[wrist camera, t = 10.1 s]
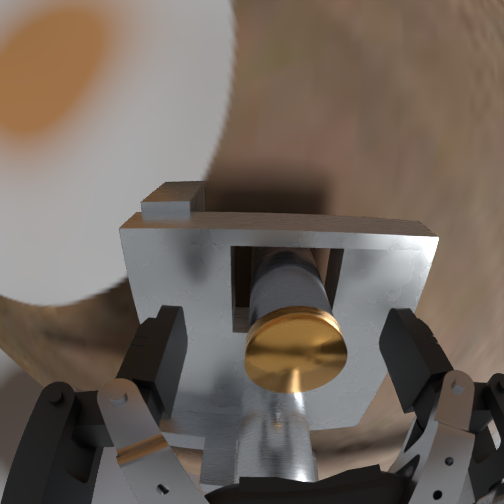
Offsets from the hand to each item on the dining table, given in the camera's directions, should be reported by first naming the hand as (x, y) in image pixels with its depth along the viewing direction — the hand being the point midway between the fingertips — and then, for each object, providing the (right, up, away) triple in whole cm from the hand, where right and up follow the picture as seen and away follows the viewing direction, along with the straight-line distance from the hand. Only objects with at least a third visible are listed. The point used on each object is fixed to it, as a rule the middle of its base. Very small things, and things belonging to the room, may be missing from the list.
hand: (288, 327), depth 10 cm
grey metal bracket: (-4, 0, +9) cm, 10 cm away
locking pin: (0, +4, +7) cm, 8 cm away
